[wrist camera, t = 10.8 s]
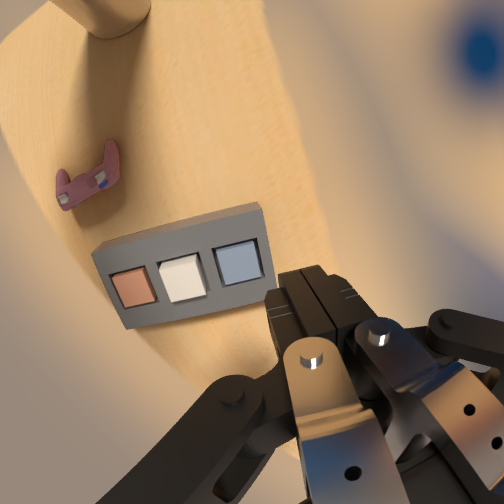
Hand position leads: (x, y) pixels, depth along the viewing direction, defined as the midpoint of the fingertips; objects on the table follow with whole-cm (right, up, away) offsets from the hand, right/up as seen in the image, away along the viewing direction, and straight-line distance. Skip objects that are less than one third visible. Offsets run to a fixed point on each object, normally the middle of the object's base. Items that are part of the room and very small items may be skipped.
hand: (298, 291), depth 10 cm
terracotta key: (-17, -2, +24) cm, 30 cm away
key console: (-11, 0, +26) cm, 28 cm away
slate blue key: (-4, +1, +25) cm, 25 cm away
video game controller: (-22, +12, +20) cm, 33 cm away
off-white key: (-10, -1, +24) cm, 26 cm away
